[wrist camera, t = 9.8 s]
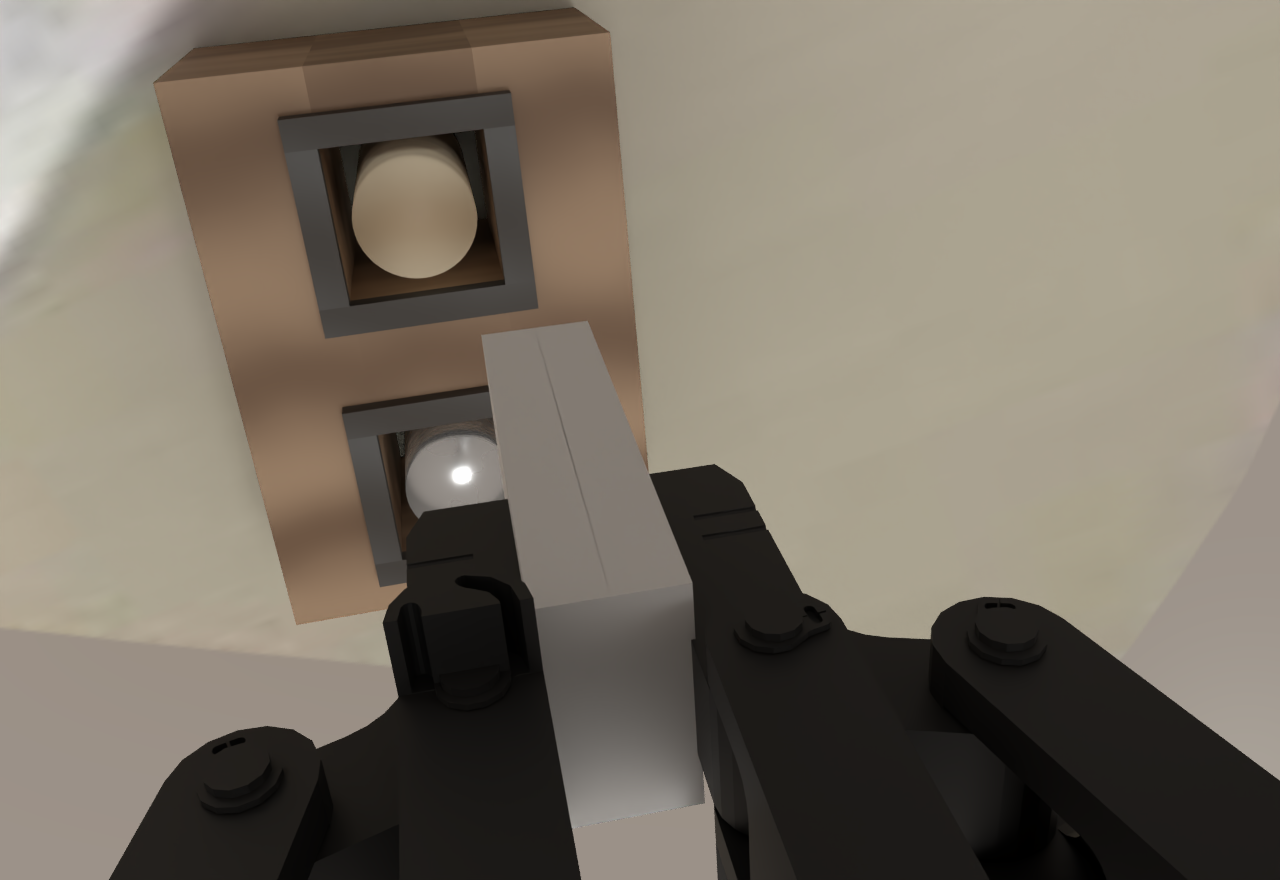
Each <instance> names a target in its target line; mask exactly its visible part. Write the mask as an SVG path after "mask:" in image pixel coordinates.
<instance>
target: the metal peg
mask: <svg viewBox="0 0 1280 880" xmlns="http://www.w3.org/2000/svg"><path fill="white" fill-rule="evenodd" d="M404 440H405V486H406V497H407V500H408V503H409V505H410V508H411V509H412V511H413V512H414V514H415V515H416V516H417V517H418V519H419V518H420V516H421V515H422V513H423V512H424V511H431V510H437V509H444V508H450V507H457V506H463V505H470V504H477V503H483V502H490V501H496V500H503V499H505V498H504V491H503V484H502V477H501V470H500V463H499V456H498V449H497V442H496V435H495V428H494V421H493V417H492V418H486V419H479V420H473V421H466V422H460V423H453V424H447V425H440V426H434V427H428V428H421V429H415V430H408V431H404Z"/></svg>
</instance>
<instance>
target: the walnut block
mask: <svg viewBox="0 0 1280 880" xmlns="http://www.w3.org/2000/svg"><path fill="white" fill-rule="evenodd" d="M153 84H154V88H155V91H156V95H157V99H158V103H159V107H160V110H161V114H162V118H163V122H164V125H165V129H166V133H167V137H168V141H169V144H170V148H171V152H172V156H173V160H174V163H175V167H176V171H177V175H178V178H179V182H180V186H181V190H182V194H183V197H184V201H185V205H186V209H187V213H188V216H189V220H190V224H191V228H192V231H193V235H194V239H195V243H196V247H197V250H198V254H199V258H200V262H201V266H202V269H203V273H204V277H205V281H206V284H207V288H208V292H209V296H210V300H211V303H212V307H213V311H214V315H215V318H216V322H217V326H218V330H219V334H220V337H221V341H222V345H223V349H224V353H225V356H226V360H227V364H228V368H229V371H230V375H231V379H232V383H233V387H234V390H235V394H236V398H237V402H238V406H239V409H240V413H241V417H242V421H243V424H244V428H245V432H246V436H247V440H248V443H249V447H250V451H251V455H252V459H253V462H254V466H255V470H256V474H257V477H258V481H259V485H260V489H261V493H262V496H263V500H264V504H265V508H266V512H267V515H268V519H269V523H270V527H271V530H272V534H273V538H274V542H275V546H276V549H277V553H278V557H279V561H280V564H281V568H282V572H283V576H284V580H285V583H286V587H287V591H288V595H289V599H290V602H291V606H292V610H293V614H294V617H295V621H296V625H299V624H305V623H310V622H316V621H322V620H327V619H333V618H339V617H344V616H350V615H356V614H362V613H367V612H373V611H379V610H384V609H388V606H389V604H390V603H391V602H392V601H393V600H394V599H395V598H396V597H397V596H398V595H399V594H400V593H401V592H402V591H403V590H404V589H406V588H407V564H406V537H407V536H408V534H409V533H410V531H411V530H412V528H413V527H414V525H415V524H416V522H417V521H418V517H417V516H416V515H415V514H414V512H413V511H412V509H411V508H410V505H409V503H408V500H407V497H406V486H405V457H401V456H400V451H399V446H398V441H397V436H396V432H402V431H408V430H415V429H421V428H428V427H434V426H440V425H447V424H453V423H460V422H466V421H473V420H479V419H486V418H492V417H493V414H492V407H491V400H490V393H489V386H488V379H487V372H486V365H485V358H484V351H483V344H482V337H481V335H485V334H493V333H500V332H508V331H515V330H523V329H530V328H538V327H545V326H553V325H560V324H568V323H575V322H583V321H588V323H589V325H590V328H591V330H592V333H593V335H594V338H595V340H596V343H597V345H598V348H599V350H600V353H601V355H602V358H603V360H604V363H605V365H606V368H607V370H608V373H609V375H610V378H611V380H612V383H613V385H614V388H615V390H616V393H617V395H618V398H619V400H620V403H621V405H622V408H623V410H624V413H625V415H626V418H627V420H628V423H629V425H630V428H631V430H632V433H633V435H634V438H635V440H636V443H637V445H638V448H639V450H640V453H641V455H642V458H643V460H644V463H645V465H646V468H647V470H648V461H647V449H646V438H645V426H644V415H643V404H642V392H641V381H640V369H639V358H638V347H637V335H636V324H635V313H634V301H633V290H632V278H631V267H630V256H629V244H628V233H627V221H626V210H625V199H624V187H623V176H622V164H621V153H620V142H619V130H618V119H617V107H616V96H615V85H614V73H613V62H612V51H611V39H610V32H609V31H607V30H606V29H604V28H603V27H602V26H600V25H599V24H597V23H596V22H594V21H593V20H592V19H590V18H589V17H587V16H586V15H585V14H583V13H582V12H580V11H579V10H577V9H576V8H566V9H556V10H547V11H538V12H528V13H519V14H510V15H501V16H491V17H482V18H473V19H463V20H454V21H445V22H435V23H426V24H417V25H407V26H398V27H389V28H380V29H370V30H361V31H352V32H342V33H333V34H324V35H314V36H305V37H296V38H287V39H277V40H268V41H259V42H249V43H240V44H231V45H221V46H212V47H203V48H194V49H193V50H191V51H190V52H189V53H188V54H187V55H186V56H184V57H183V58H182V59H181V60H180V61H179V62H177V63H176V64H175V65H174V66H173V67H172V68H170V69H169V70H168V71H167V72H166V73H164V74H163V75H162V76H161V77H160V78H159V79H157V80H156V81H155V82H154V83H153ZM472 130H474V131H475V138H476V145H477V152H478V159H479V166H480V172H481V179H482V186H483V193H484V200H485V207H486V214H487V218H486V219H479V220H477V229H476V234H475V237H474V240H473V243H472V245H471V247H470V249H469V250H468V252H467V253H466V255H465V256H464V257H463V258H462V259H461V260H460V261H459V262H458V263H457V264H456V265H455V266H453V267H452V268H450V269H449V270H447V271H445V272H443V273H441V274H438V275H435V276H432V277H427V278H406V277H401V276H398V275H394V274H392V273H390V272H387V271H385V270H384V269H382V268H380V267H379V266H378V265H376V264H375V263H374V262H373V261H372V260H371V259H370V258H369V257H368V256H367V255H366V254H365V253H364V251H363V250H362V248H361V247H360V245H359V243H358V241H357V239H356V236H355V233H354V229H353V224H352V209H351V204H350V198H349V193H348V188H347V183H346V178H345V173H344V168H343V163H342V158H341V153H340V148H339V146H348V145H356V144H364V143H373V142H381V141H389V140H397V139H406V138H414V137H422V136H431V135H439V134H447V133H455V132H464V131H472ZM648 473H649V472H648Z"/></svg>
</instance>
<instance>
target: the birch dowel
mask: <svg viewBox="0 0 1280 880" xmlns="http://www.w3.org/2000/svg"><path fill="white" fill-rule="evenodd" d="M352 224H353V229H354V233H355V236H356V239H357V241H358V243H359V245H360V247H361V248H362V250H363V251H364V253H365V254H366V255H367V256H368V257H369V258H370V259H371V260H372V261H373V262H374V263H375V264H376V265H378V266H379V267H380V268H382V269H384V270H385V271H387V272H390V273H392V274H394V275H398V276H401V277H406V278H427V277H432V276H435V275H438V274H441V273H443V272H445V271H447V270H449V269H450V268H452V267H453V266H455V265H456V264H457V263H458V262H459V261H460V260H461V259H462V258H463V257H464V256H465V255H466V253H467V252H468V250H469V249H470V247H471V245H472V243H473V240H474V237H475V234H476V229H477V211H476V206H475V202H474V198H473V194H472V190H471V186H470V182H469V178H468V174H467V170H466V166H465V162H464V158H463V154H462V151H461V148H460V145H459V143H458V141H457V140H456V138H455V137H454V135H453V134H452V133H447V134H439V135H431V136H422V137H414V138H406V139H397V140H389V141H381V142H373V143H364V144H361V148H360V151H359V158H358V166H357V174H356V182H355V191H354V199H353V207H352Z"/></svg>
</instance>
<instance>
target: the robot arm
mask: <svg viewBox="0 0 1280 880" xmlns="http://www.w3.org/2000/svg"><path fill="white" fill-rule="evenodd" d="M481 337H482V344H483V351H484V358H485V365H486V372H487V379H488V386H489V393H490V400H491V407H492V414H493V421H494V428H495V435H496V442H497V449H498V456H499V463H500V470H501V477H502V484H503V491H504V498H505V499H503V500H496V501H490V502H483V503H477V504H470V505H463V506H457V507H450V508H444V509H437V510H431V511H424V512H423V513H422V515H421V516H420V518H419V519H418V521H417V522H416V524H415V525H414V527H413V528H412V530H411V531H410V533H409V534H408V536H407V537H406V564H407V588H406V589H404V590H403V591H402V592H401V593H400V594H399V595H398V596H397V597H396V598H395V599H394V600H393V601H392V602H391V603H390V604H389V606H388V609H387V612H386V615H385V618H384V621H383V627H384V631H385V636H386V641H387V645H388V650H389V655H390V659H391V664H392V669H393V673H394V678H395V683H396V687H397V692H398V696H399V697H398V699H397V700H396V701H395V702H394V704H393V705H392V706H391V707H390V708H389V709H388V710H387V711H386V712H385V713H384V714H383V715H382V716H380V717H379V718H378V719H376V720H375V721H373V722H372V723H371V724H369V725H368V726H366V727H364V728H362V729H360V730H358V731H356V732H354V733H352V734H351V735H349V736H346V737H344V738H342V739H339V740H337V741H335V742H332V743H330V744H327V745H325V746H322V747H320V748H318V749H316V748H315V746H314V744H313V742H312V740H310V739H308V738H307V737H305V736H303V735H302V734H300V733H298V732H296V731H295V730H293V729H285V728H277V727H270V726H264V727H258V728H251V729H244V730H238V731H235V732H233V733H230V734H227V735H225V736H223V737H220V738H218V739H215V740H212V741H210V742H208V743H206V744H205V745H203V746H202V747H200V748H199V749H198V750H196V751H195V752H193V753H192V754H191V755H189V756H187V757H186V758H185V759H183V760H182V761H181V762H180V763H179V765H178V766H177V767H176V768H175V770H174V771H173V772H172V773H171V774H170V776H169V777H168V778H167V779H166V780H165V782H164V783H163V785H162V787H161V789H160V790H159V792H158V794H157V796H156V798H155V799H154V801H153V803H152V805H151V807H150V808H149V810H148V812H147V813H146V815H145V817H144V819H143V821H142V822H141V824H140V826H139V828H138V829H137V831H136V833H135V835H134V836H133V838H132V840H131V842H130V843H129V845H128V847H127V849H126V851H125V852H124V854H123V856H122V858H121V859H120V861H119V863H118V865H117V866H116V868H115V870H114V872H113V873H112V875H111V877H110V879H109V880H581V876H580V871H579V865H578V860H577V855H576V848H575V843H574V837H573V832H572V829H573V828H578V827H583V826H588V825H593V824H599V823H603V822H609V821H614V820H620V819H625V818H630V817H635V816H640V815H646V814H651V813H656V812H661V811H666V810H672V809H677V808H682V807H687V806H692V805H698V804H703V803H705V800H704V782H703V772H704V775H705V777H706V780H707V784H708V787H709V790H710V793H711V796H712V799H713V802H714V813H715V833H716V853H717V872H718V880H1280V781H1279V780H1278V779H1277V778H1275V777H1274V776H1273V775H1271V774H1270V773H1269V772H1267V771H1266V770H1265V769H1263V768H1262V767H1261V766H1259V765H1258V764H1257V763H1255V762H1254V761H1253V760H1251V759H1250V758H1249V757H1247V756H1246V755H1245V754H1243V753H1242V752H1241V751H1239V750H1238V749H1237V748H1235V747H1234V746H1233V745H1231V744H1230V743H1229V742H1227V741H1226V740H1225V739H1223V738H1222V737H1220V736H1219V735H1218V734H1217V733H1215V732H1214V731H1212V730H1211V729H1210V728H1209V727H1207V726H1206V725H1204V724H1203V723H1202V722H1200V721H1199V720H1198V719H1196V718H1195V717H1194V716H1193V715H1191V714H1190V713H1188V712H1187V711H1186V710H1184V709H1183V708H1182V707H1181V706H1179V705H1178V704H1177V703H1175V702H1174V701H1172V700H1171V699H1170V698H1169V697H1167V696H1166V695H1164V694H1163V693H1162V692H1160V691H1159V690H1158V689H1156V688H1155V687H1154V686H1153V685H1151V684H1150V683H1149V682H1147V681H1146V680H1144V679H1143V678H1142V677H1140V676H1139V675H1138V674H1136V673H1135V672H1134V671H1132V670H1131V669H1130V668H1128V667H1127V666H1126V665H1124V664H1123V663H1122V662H1120V661H1119V660H1118V659H1116V658H1115V657H1114V656H1112V655H1111V654H1110V653H1108V652H1107V651H1106V650H1104V649H1103V648H1102V647H1100V646H1099V645H1098V644H1096V643H1095V642H1094V641H1092V640H1091V639H1090V638H1088V637H1087V636H1086V635H1084V634H1083V633H1082V632H1080V631H1079V630H1078V629H1076V628H1075V627H1074V626H1072V625H1071V624H1070V623H1068V622H1067V621H1066V620H1064V619H1063V618H1061V617H1060V616H1058V615H1056V614H1054V613H1052V612H1050V611H1049V610H1047V609H1045V608H1043V607H1041V606H1039V605H1036V604H1032V603H1028V602H1024V601H1021V600H1017V599H1013V598H996V597H981V598H976V599H972V600H967V601H962V602H958V603H957V604H955V605H953V606H951V607H950V608H948V609H946V610H944V611H943V612H941V613H940V615H939V616H938V618H937V620H936V621H935V623H934V624H933V626H932V628H931V639H910V638H889V637H880V636H871V635H865V634H861V633H857V632H854V631H850V630H847V628H846V626H845V625H844V623H843V621H842V619H841V618H840V617H839V616H838V615H837V614H836V613H835V612H834V611H833V610H832V609H831V607H830V606H829V605H828V604H826V603H824V602H822V601H820V600H818V599H815V598H813V597H811V596H809V595H807V594H803V593H802V591H801V589H800V588H799V586H798V584H797V582H796V580H795V578H794V577H793V575H792V573H791V571H790V569H789V567H788V565H787V564H786V562H785V560H784V558H783V556H782V554H781V553H780V551H779V549H778V547H777V545H776V543H775V541H774V540H773V538H772V536H771V534H770V532H769V530H766V525H765V523H764V521H763V519H762V517H761V516H760V514H759V512H758V510H757V511H756V509H755V505H754V503H753V501H752V499H751V497H750V495H749V493H748V492H747V490H746V488H745V486H744V484H743V482H741V481H740V480H738V479H737V478H735V477H734V476H732V475H731V474H729V473H727V472H726V471H724V470H723V469H721V468H720V467H718V466H717V465H715V464H713V465H706V466H699V467H693V468H686V469H680V470H673V471H667V472H660V473H653V474H649V473H648V470H647V468H646V465H645V463H644V460H643V458H642V455H641V453H640V450H639V448H638V445H637V443H636V440H635V438H634V435H633V433H632V430H631V428H630V425H629V423H628V420H627V418H626V415H625V413H624V410H623V408H622V405H621V403H620V400H619V398H618V395H617V393H616V390H615V388H614V385H613V383H612V380H611V378H610V375H609V373H608V370H607V368H606V365H605V363H604V360H603V358H602V355H601V353H600V350H599V348H598V345H597V343H596V340H595V338H594V335H593V333H592V330H591V328H590V325H589V323H588V321H583V322H575V323H568V324H560V325H553V326H545V327H538V328H530V329H523V330H515V331H508V332H500V333H493V334H485V335H481Z"/></svg>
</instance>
